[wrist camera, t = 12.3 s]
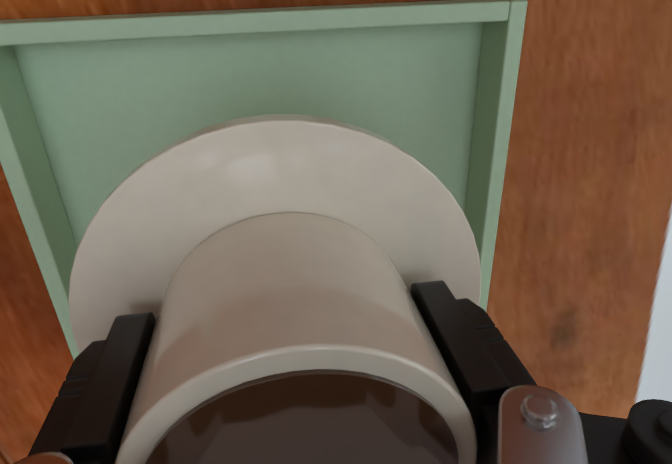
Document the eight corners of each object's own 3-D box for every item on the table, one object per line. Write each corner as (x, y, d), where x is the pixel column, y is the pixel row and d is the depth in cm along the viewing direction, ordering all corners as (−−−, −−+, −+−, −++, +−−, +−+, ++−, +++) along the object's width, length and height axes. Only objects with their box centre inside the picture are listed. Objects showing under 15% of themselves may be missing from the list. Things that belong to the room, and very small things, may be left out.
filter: (493, 98, 11) (671, 182, 6) (456, 417, 15) (542, 601, 11) (14, 131, 10) (-208, 265, 5) (130, 465, 14) (71, 695, 10)
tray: (493, -2, 18) (528, -1, 15) (462, 295, 24) (484, 328, 21) (-7, 19, 16) (-52, 25, 13) (98, 337, 22) (79, 379, 20)
